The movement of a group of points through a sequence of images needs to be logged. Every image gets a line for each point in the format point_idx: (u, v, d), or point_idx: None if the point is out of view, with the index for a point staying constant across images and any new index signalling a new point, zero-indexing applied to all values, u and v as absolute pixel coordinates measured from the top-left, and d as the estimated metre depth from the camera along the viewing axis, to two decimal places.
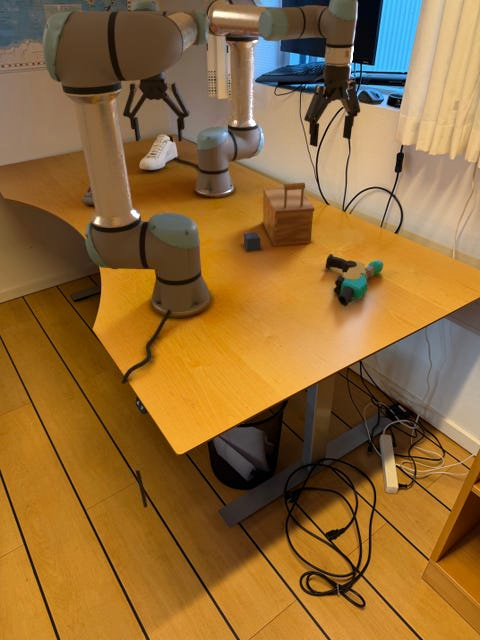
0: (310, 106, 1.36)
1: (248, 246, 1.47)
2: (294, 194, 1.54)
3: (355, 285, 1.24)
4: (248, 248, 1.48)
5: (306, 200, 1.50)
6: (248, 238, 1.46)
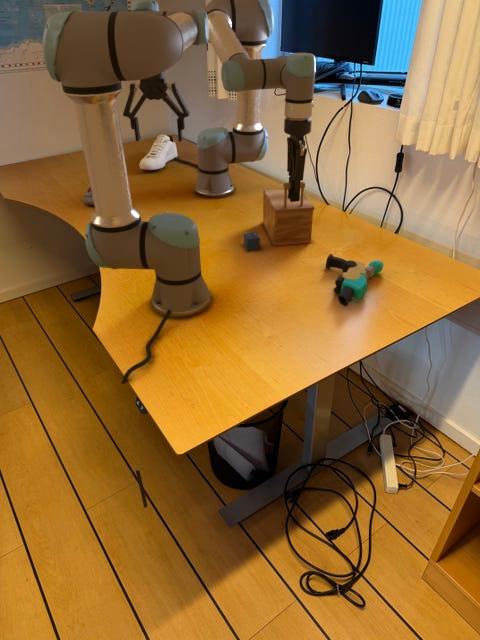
0: (298, 168, 1.34)
1: (248, 246, 1.47)
2: None
3: (355, 285, 1.24)
4: (248, 248, 1.48)
5: (306, 199, 1.50)
6: (248, 238, 1.46)
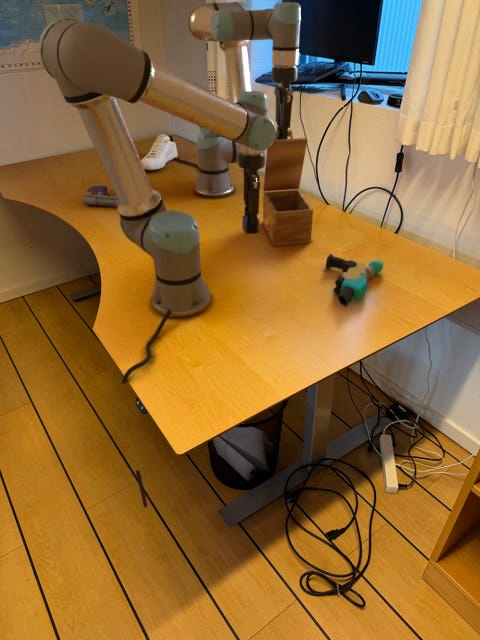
0: (285, 115, 1.42)
1: None
2: None
3: (355, 285, 1.24)
4: None
5: None
6: (247, 220, 1.43)
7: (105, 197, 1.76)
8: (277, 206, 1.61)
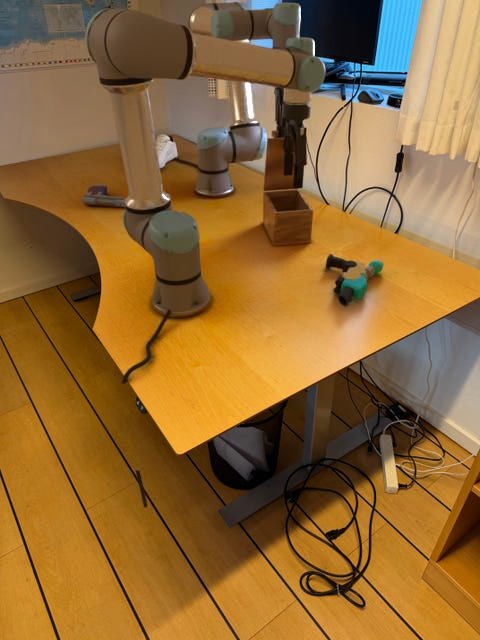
0: None
1: None
2: None
3: (355, 285, 1.24)
4: None
5: None
6: None
7: (105, 197, 1.76)
8: (277, 205, 1.61)
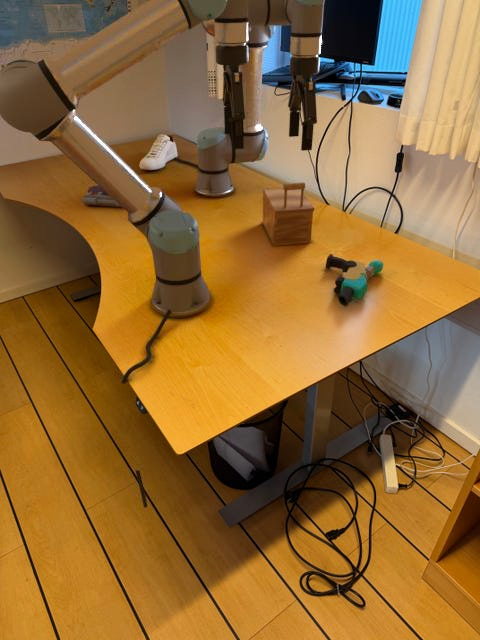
0: (309, 106, 1.18)
1: None
2: (294, 194, 1.54)
3: (355, 285, 1.24)
4: None
5: (306, 200, 1.50)
6: None
7: (105, 197, 1.76)
8: None
